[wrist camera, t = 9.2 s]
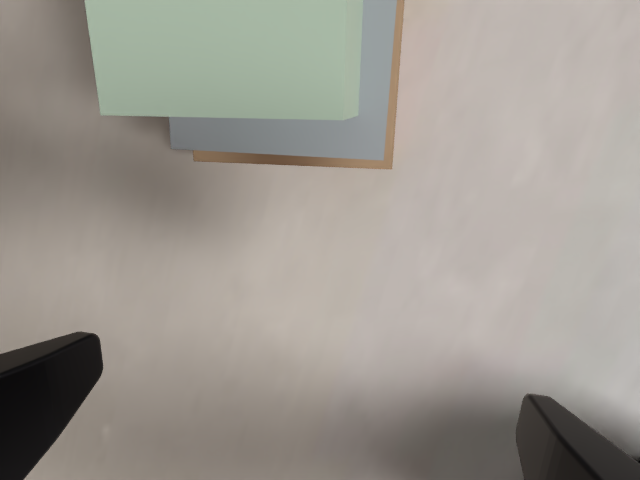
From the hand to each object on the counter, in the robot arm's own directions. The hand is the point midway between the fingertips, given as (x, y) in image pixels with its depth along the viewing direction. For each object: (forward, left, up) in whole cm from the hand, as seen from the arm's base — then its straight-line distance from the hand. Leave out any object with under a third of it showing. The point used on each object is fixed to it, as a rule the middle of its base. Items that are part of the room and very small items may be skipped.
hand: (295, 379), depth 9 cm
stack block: (+2, -8, -6) cm, 10 cm away
